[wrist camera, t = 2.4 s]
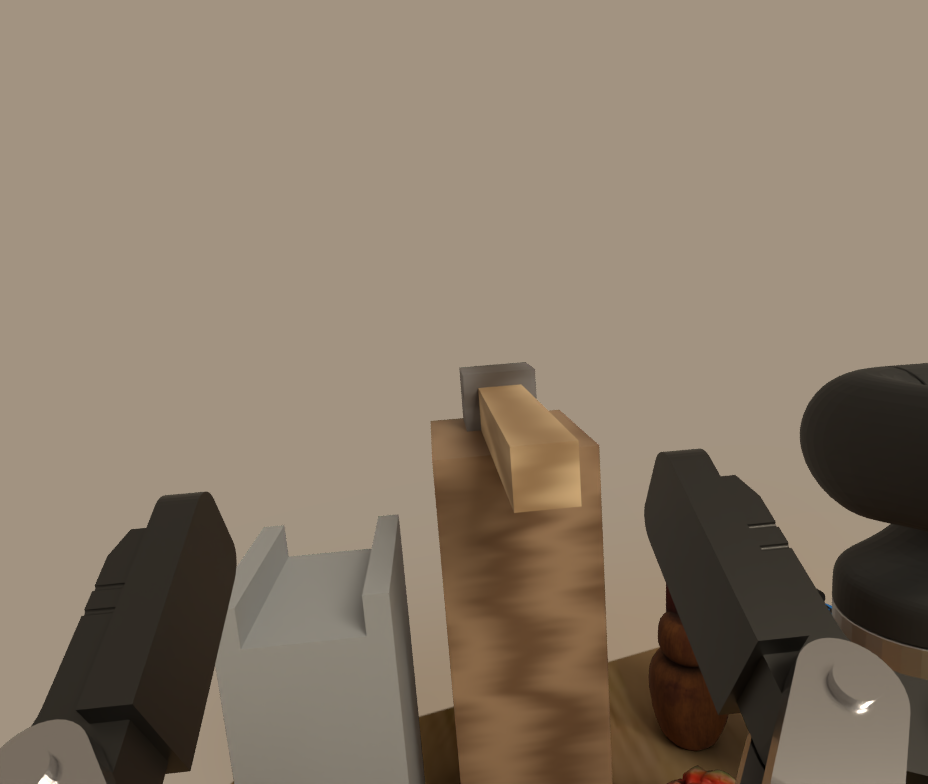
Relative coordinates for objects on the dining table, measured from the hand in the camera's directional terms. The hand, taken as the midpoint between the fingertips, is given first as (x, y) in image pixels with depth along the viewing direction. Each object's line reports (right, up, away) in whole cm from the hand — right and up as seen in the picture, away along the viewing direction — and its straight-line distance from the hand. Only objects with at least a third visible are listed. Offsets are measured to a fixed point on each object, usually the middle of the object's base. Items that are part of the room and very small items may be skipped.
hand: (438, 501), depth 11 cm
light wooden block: (+4, -2, +25) cm, 26 cm away
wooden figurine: (+20, -28, +42) cm, 54 cm away
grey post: (-7, -32, +32) cm, 46 cm away
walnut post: (+5, -30, +35) cm, 47 cm away
